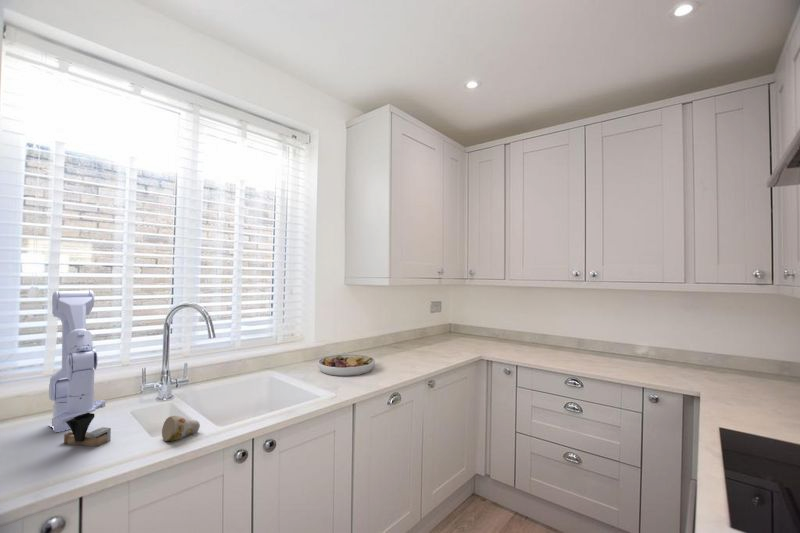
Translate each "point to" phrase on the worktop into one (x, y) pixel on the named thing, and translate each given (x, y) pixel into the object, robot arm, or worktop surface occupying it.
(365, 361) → the bowl
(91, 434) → the bracket
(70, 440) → the link
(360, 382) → the worktop surface
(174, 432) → the grey-brown rounded piece
